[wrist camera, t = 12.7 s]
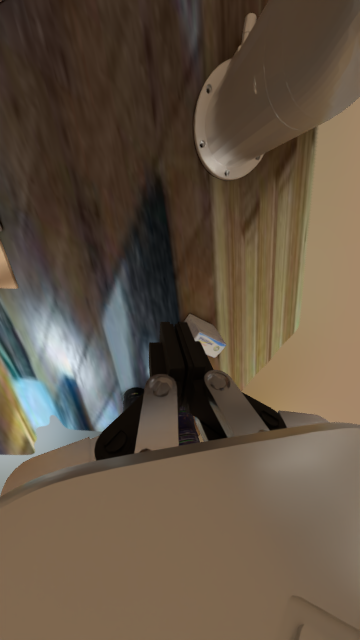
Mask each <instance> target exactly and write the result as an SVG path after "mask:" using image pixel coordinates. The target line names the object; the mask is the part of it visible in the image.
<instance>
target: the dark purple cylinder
mask: <svg viewBox="0 0 360 640" xmlns="http://www.w3.org/2000/svg"><path fill="white" fill-rule="evenodd" d="M178 441H179V446H182V445H188V444H193V443H199V442H200V441H199V438H198V434H197V432H196V429H195V425H194V419H193V415H192V414H190V412H186V411H185V407H182V406H181V403H180V409H179V415H178Z"/></svg>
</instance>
